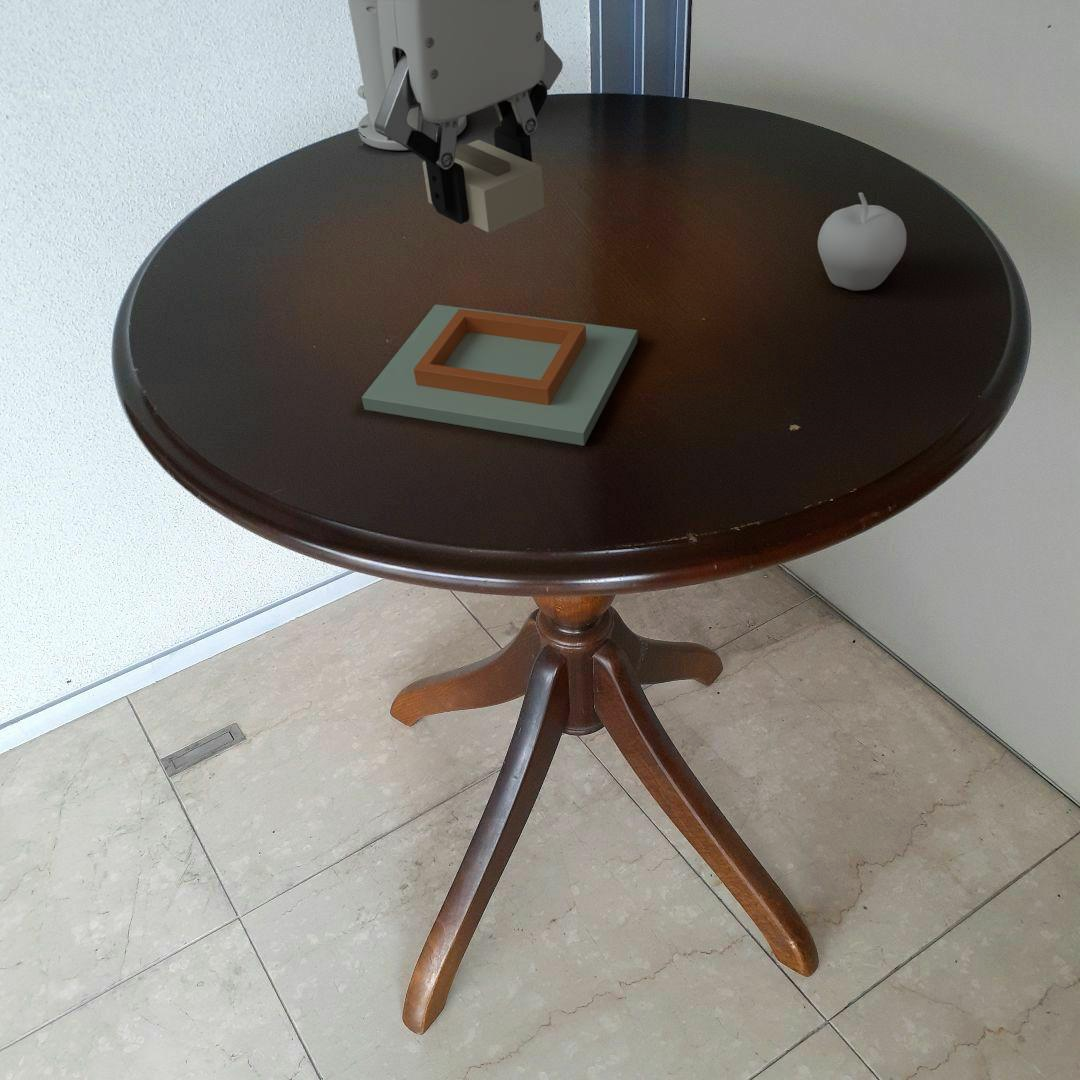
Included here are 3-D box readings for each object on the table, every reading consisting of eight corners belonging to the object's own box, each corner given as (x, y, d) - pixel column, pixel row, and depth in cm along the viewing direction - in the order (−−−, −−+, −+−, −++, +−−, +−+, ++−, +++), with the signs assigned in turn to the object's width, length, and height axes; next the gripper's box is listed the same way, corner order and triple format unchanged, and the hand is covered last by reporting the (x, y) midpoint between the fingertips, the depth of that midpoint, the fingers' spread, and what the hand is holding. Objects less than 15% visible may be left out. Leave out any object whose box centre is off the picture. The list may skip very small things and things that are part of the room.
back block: (428, 203, 73) (420, 153, 71) (483, 179, 75) (477, 130, 73) (488, 233, 69) (482, 182, 66) (545, 208, 71) (541, 157, 69)
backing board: (364, 409, 80) (357, 381, 78) (437, 316, 89) (432, 288, 87) (584, 446, 74) (582, 416, 73) (637, 342, 84) (637, 313, 82)
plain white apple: (804, 264, 91) (814, 177, 85) (885, 257, 91) (900, 169, 85) (823, 305, 86) (835, 215, 80) (909, 298, 86) (927, 207, 80)
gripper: (521, -132, 65) (542, 149, 78) (290, -71, 58) (354, 229, 70) (602, -119, 61) (610, 177, 73) (363, -52, 54) (417, 265, 66)
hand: (484, 199), depth 72 cm, fingers closed on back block, 5 cm apart
